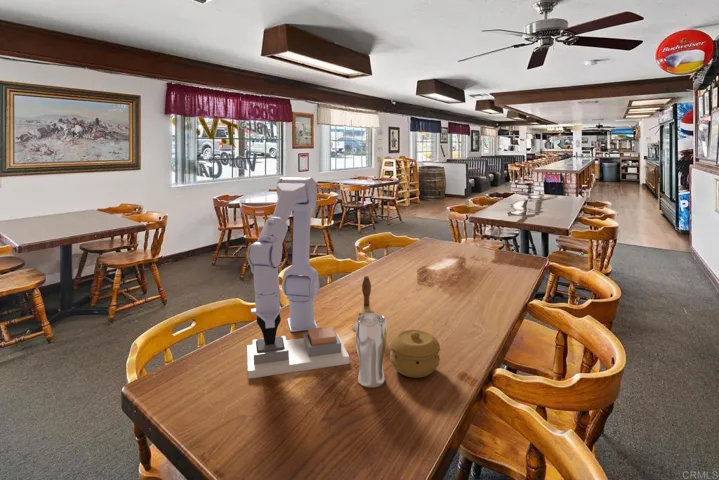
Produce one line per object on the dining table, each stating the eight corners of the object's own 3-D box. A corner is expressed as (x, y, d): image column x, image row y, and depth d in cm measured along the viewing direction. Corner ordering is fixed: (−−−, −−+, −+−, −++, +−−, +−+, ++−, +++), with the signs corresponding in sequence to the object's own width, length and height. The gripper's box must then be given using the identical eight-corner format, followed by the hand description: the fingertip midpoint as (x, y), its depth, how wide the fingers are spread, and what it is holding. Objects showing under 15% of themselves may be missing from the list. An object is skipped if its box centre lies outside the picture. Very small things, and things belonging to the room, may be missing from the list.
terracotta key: (308, 339, 106) (308, 329, 105) (331, 337, 108) (330, 326, 107) (312, 350, 100) (312, 339, 100) (336, 347, 102) (335, 336, 101)
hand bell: (385, 331, 118) (385, 278, 114) (358, 336, 115) (358, 282, 111) (373, 320, 125) (373, 271, 122) (348, 324, 122) (347, 274, 119)
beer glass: (384, 371, 96) (385, 312, 93) (387, 388, 90) (388, 325, 86) (355, 372, 96) (355, 313, 93) (356, 389, 89) (355, 326, 86)
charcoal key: (257, 350, 103) (257, 339, 102) (281, 347, 105) (281, 336, 104) (258, 361, 97) (257, 350, 97) (284, 358, 99) (283, 346, 98)
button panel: (247, 352, 106) (246, 336, 105) (337, 340, 112) (337, 325, 111) (248, 378, 94) (247, 360, 93) (349, 363, 100) (349, 346, 99)
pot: (391, 384, 91) (391, 343, 89) (387, 358, 103) (388, 321, 100) (443, 384, 91) (445, 343, 89) (434, 358, 102) (435, 321, 100)
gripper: (249, 283, 103) (252, 333, 106) (250, 303, 89) (254, 359, 92) (277, 280, 105) (279, 329, 108) (282, 300, 91) (285, 355, 94)
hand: (269, 343), depth 100 cm, fingers closed, pressing on charcoal key
